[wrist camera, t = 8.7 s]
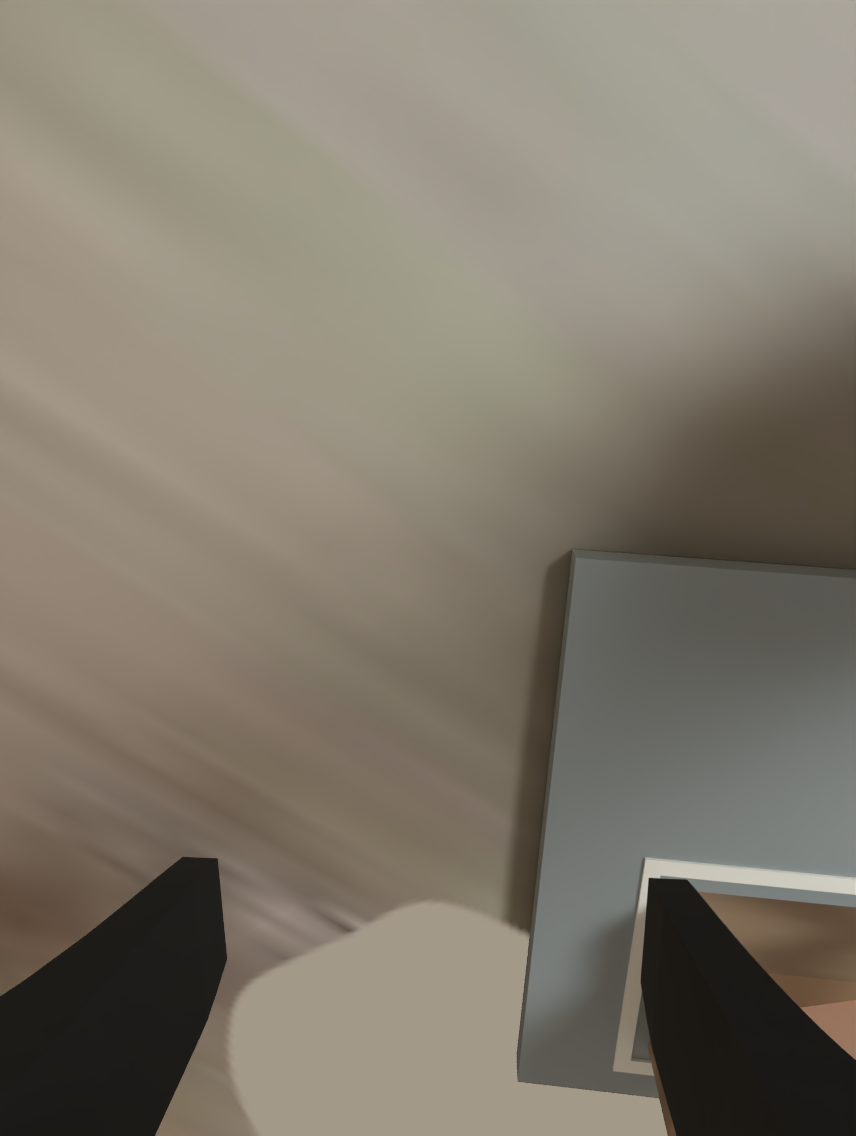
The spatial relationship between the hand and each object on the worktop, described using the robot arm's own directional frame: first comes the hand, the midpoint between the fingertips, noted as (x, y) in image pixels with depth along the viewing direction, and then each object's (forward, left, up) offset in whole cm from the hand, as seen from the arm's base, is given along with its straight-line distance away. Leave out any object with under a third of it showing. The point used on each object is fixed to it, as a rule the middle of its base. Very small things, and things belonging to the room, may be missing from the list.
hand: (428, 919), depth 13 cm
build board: (-9, +5, -10) cm, 15 cm away
